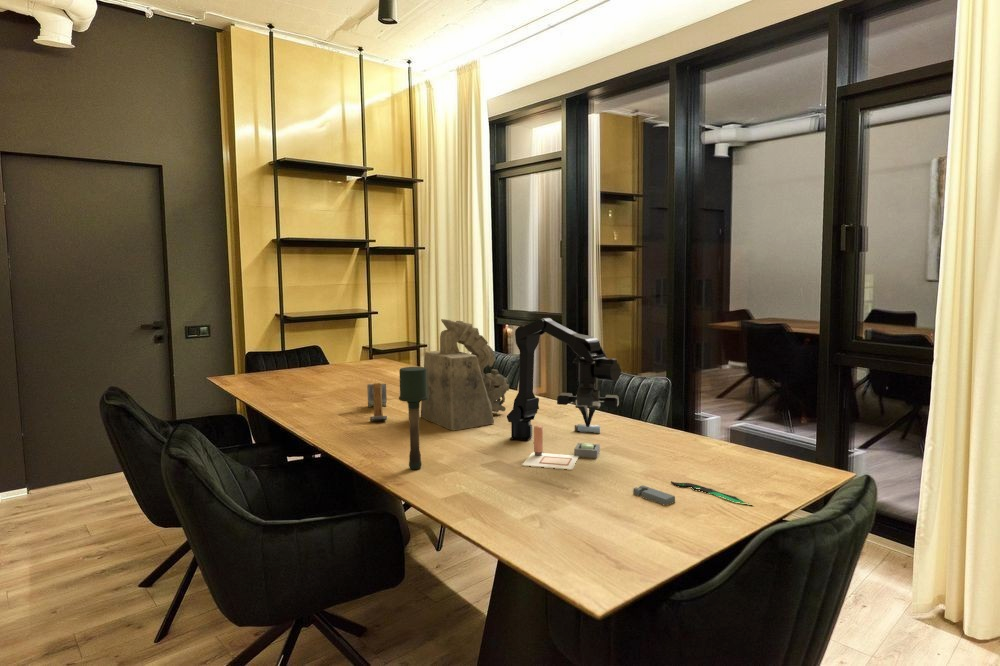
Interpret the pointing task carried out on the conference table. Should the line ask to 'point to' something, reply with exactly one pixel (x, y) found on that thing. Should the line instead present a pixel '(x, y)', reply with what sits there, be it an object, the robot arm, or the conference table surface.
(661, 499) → the bracket
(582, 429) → the grey cylinder
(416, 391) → the stick grenade
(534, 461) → the sheet
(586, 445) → the button
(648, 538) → the conference table surface
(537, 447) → the salmon rounded cylinder
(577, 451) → the button housing
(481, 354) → the sculpture
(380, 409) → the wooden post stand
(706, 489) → the knife
